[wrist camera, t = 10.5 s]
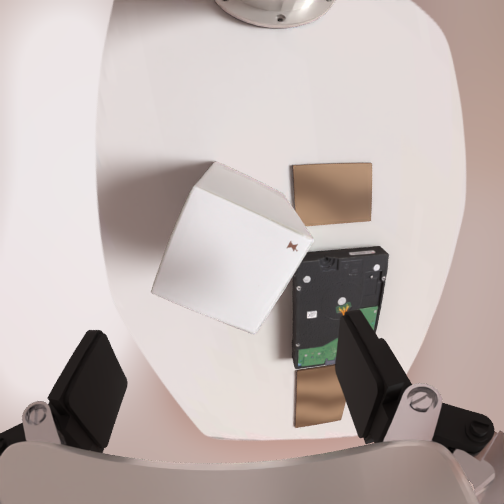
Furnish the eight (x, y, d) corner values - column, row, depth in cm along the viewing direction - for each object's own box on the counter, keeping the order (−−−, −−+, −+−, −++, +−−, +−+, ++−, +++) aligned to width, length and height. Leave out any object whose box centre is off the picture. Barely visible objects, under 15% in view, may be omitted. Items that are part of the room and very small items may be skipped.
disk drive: (289, 251, 30) (291, 356, 36) (293, 262, 28) (294, 371, 33) (379, 242, 30) (365, 344, 36) (390, 252, 28) (372, 358, 33)
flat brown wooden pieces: (292, 165, 26) (293, 165, 26) (370, 163, 26) (371, 163, 26) (295, 426, 42) (295, 427, 42) (340, 418, 42) (341, 419, 42)
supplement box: (214, 158, 26) (194, 179, 14) (285, 193, 27) (320, 241, 16) (182, 227, 28) (146, 294, 16) (250, 257, 30) (257, 338, 18)
